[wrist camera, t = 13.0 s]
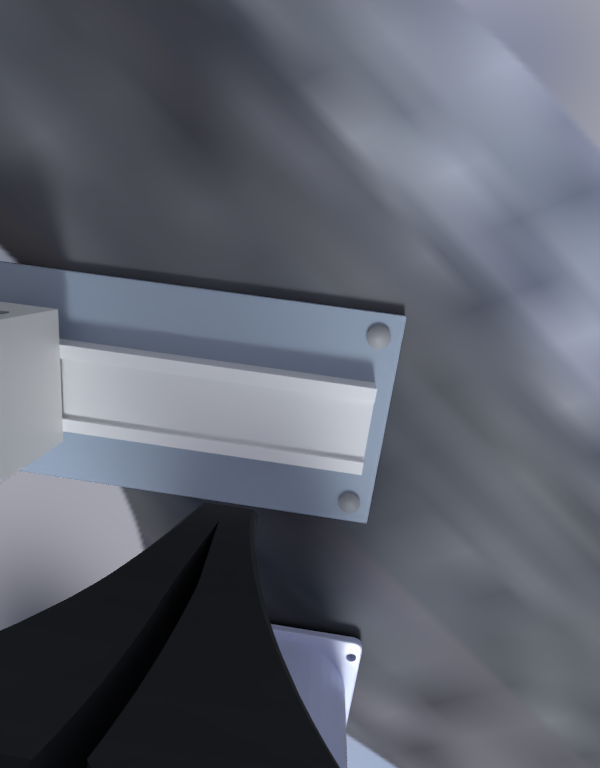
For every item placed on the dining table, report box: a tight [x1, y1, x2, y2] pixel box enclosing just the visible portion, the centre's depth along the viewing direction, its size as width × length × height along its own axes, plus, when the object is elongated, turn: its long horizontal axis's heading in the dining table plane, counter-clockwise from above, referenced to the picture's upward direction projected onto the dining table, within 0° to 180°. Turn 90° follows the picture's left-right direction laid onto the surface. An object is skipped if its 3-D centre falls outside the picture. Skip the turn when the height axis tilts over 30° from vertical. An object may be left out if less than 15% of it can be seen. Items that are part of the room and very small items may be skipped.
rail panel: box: [0, 261, 406, 523], centre depth 19 cm, size 10×23×3 cm, turn 83°
